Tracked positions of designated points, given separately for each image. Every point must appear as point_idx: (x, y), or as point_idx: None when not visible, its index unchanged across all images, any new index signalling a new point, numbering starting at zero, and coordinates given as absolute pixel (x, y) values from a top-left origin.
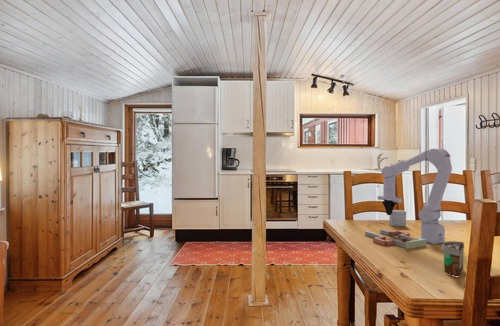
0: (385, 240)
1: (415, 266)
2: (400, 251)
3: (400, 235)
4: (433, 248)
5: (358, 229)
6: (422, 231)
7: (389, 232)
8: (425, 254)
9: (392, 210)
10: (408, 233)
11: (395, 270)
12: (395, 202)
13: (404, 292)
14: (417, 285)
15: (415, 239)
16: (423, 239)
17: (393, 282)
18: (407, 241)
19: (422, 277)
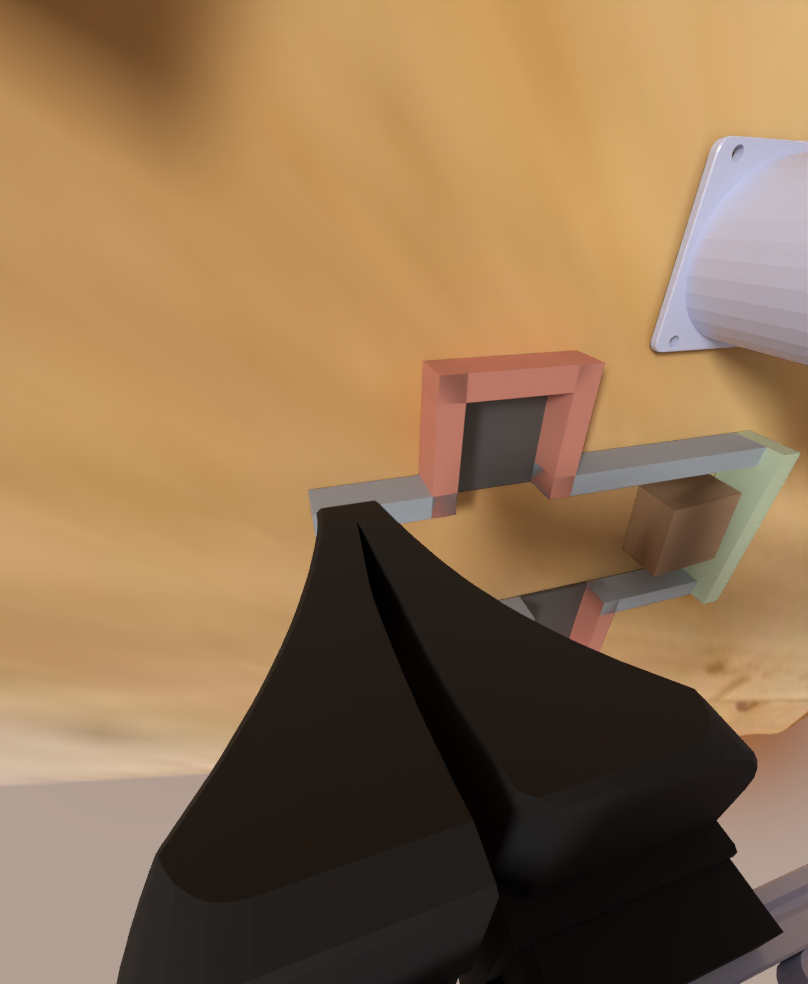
0: (520, 600)
1: (760, 654)
2: (669, 621)
3: (571, 492)
4: (794, 429)
5: (77, 627)
6: (787, 359)
7: (446, 513)
8: (769, 548)
9: (427, 553)
10: (592, 376)
11: (721, 710)
12: (729, 786)
13: (769, 732)
14: (785, 703)
15: (730, 513)
16: (783, 475)
17: (739, 734)
18: (711, 596)
19: (789, 675)
